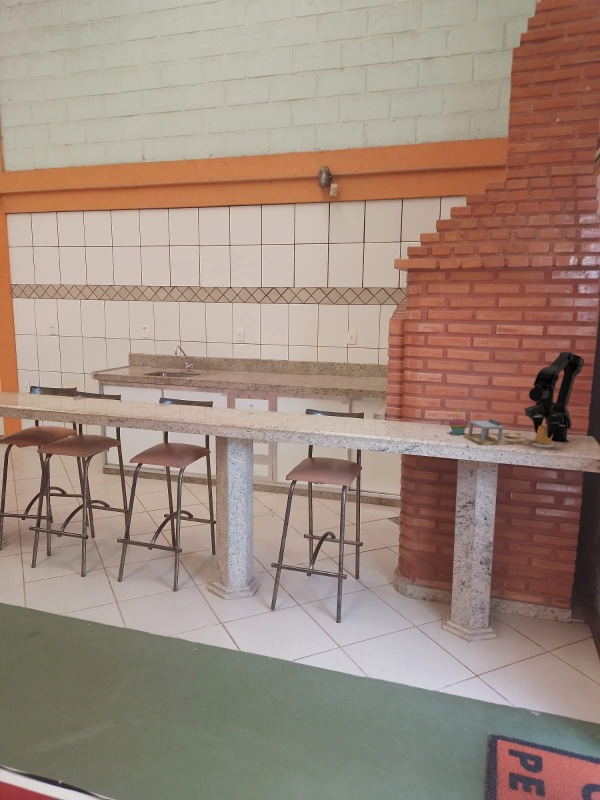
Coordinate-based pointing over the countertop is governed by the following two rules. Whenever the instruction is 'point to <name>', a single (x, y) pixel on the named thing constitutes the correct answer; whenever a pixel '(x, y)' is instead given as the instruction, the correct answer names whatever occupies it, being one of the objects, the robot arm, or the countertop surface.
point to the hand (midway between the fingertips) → (542, 435)
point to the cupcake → (458, 425)
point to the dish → (542, 445)
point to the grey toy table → (486, 427)
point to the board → (506, 440)
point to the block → (543, 435)
